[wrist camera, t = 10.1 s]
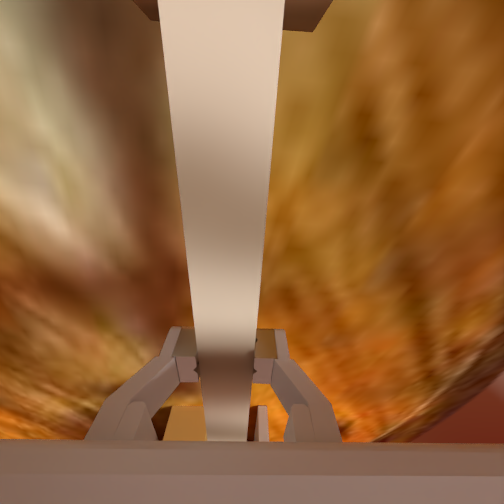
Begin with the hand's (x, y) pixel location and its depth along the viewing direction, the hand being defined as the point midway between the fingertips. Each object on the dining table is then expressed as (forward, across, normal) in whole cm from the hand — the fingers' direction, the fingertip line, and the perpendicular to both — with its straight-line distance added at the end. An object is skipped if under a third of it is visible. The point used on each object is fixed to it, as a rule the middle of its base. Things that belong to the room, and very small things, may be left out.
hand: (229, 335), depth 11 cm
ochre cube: (+8, -6, -26) cm, 28 cm away
